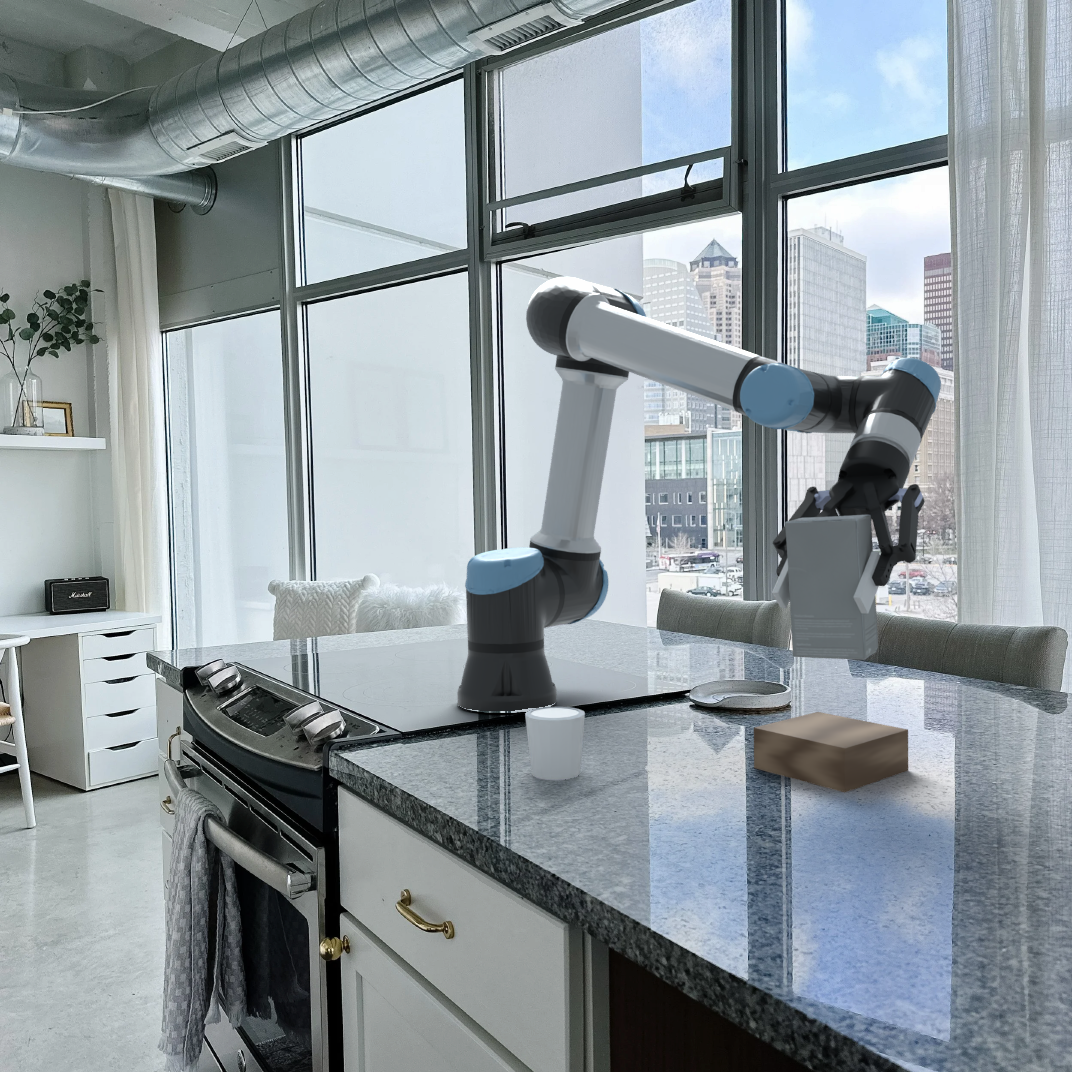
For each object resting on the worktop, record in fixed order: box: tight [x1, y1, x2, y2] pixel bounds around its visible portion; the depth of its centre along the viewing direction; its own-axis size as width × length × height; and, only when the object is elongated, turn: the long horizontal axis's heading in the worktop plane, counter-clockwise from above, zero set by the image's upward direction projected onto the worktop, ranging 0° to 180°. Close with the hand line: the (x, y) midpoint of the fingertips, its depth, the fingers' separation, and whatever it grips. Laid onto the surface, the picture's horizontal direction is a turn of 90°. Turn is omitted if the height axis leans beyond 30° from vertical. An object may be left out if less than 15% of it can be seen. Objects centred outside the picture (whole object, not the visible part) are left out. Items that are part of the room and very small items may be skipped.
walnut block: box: [753, 711, 909, 793], centre depth 108 cm, size 12×12×5 cm
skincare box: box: [784, 515, 879, 661], centre depth 107 cm, size 8×7×16 cm
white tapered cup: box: [524, 706, 586, 781], centre depth 108 cm, size 7×7×7 cm
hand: (818, 602), depth 105 cm, fingers closed on skincare box, 9 cm apart
